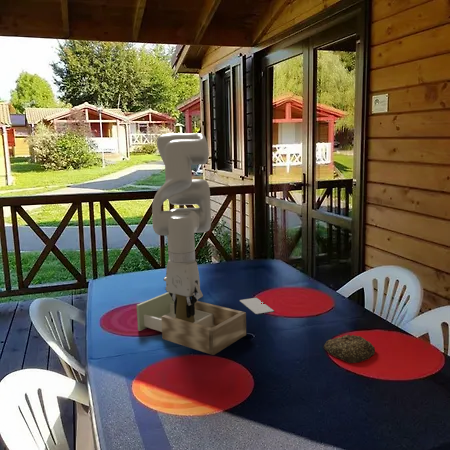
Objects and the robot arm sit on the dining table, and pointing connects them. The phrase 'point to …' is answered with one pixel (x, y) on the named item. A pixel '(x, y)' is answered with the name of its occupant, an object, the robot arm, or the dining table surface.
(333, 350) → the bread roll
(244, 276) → the dining table surface
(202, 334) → the caddy
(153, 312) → the drawer
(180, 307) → the cork
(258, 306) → the smartphone
